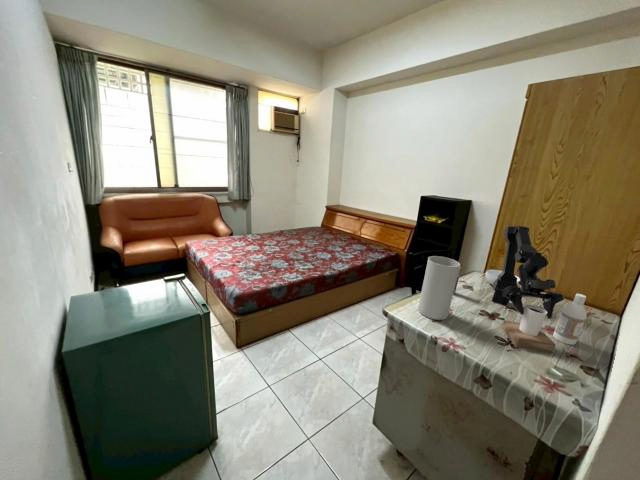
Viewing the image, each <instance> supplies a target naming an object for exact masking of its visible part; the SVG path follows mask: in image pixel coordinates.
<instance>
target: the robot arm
mask: <svg viewBox="0 0 640 480" xmlns="http://www.w3.org/2000/svg"><path fill="white" fill-rule="evenodd" d="M529 232H530V227H527V226H522V225H515V226H513V225H508V226H507V227H505V228H504V232H503V234H504V240H505V242H506V248H505V249H506V250H505V257H504V261H503V267H502V271H503V272H502V273H501V274H500V275H499V276H498V278H497V279H496V280H495V282H494V283H493V285H492V289H493V291H494V292H493V296H492V299H491V302H493V303H496V304H499V305H503V306H508V304H510V302H511V303H512V304H513V306H514V307H515V309H517V310H518V312H519V314H520V315H522V316H523V314H524V304H523V301H522V298H523V297H529V298H536V299H541V300H542V301H543V302H542V305H543V309H545V310H546V311H547V314H546V317H547V319H548V320H550V319H552V318H553V313H554V310H555V306H556V304H558V303H560V302H562V301H564V300H565V297H564V294H562V293H560V292H557V291H551V289H556V286H557V285H556V282H555V280H554V279H545V280H542V279H541V278H538V274H539V273H540V272H541V271H542V270H543V269H545V268H546V267H547V266H548V264H549V261H548V259H547V258H546V257H545V256H543V255H542V253H541V252H538V250H537V248H535V247H533V246H532V241H531V236H530V233H529ZM516 263H519V264H520V265H519V266H518V267H517V270H516V272H518V276H517V277H519V278H520V281H519V282H518V283H519V285H520V286H519V285H518V286H517V277H515V269H516ZM546 290H548V291H549V292H546V293H544V292H545V291H546Z"/></svg>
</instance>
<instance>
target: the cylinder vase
mask: <svg viewBox="0 0 640 480" xmlns="http://www.w3.org/2000/svg"><path fill="white" fill-rule="evenodd" d="M460 267H461V263H460V262H459V261H457V260H455V259H453V258H449V257H445V256H438V255H432V256H428V257H427V264H426V268H425V272H424V273H425V274H424V277H423V278H424V279H423V283H422V287H421V293H420V297H419V303H418V308H417V309H418V311H419V312H420V313H421V314H422V315H423V316H425V317H426V318H428V319H432V320H435V321H436V320H437V321H443V320H446V319H448V316H449V313H450V309H451V305H452V301H453V296H454V295H453V293H454V288H455V284H456V280H457V276H458V272H459V268H460Z"/></svg>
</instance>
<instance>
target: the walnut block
mask: <svg viewBox="0 0 640 480" xmlns="http://www.w3.org/2000/svg"><path fill="white" fill-rule="evenodd" d="M520 323H521V322H518V321H517V322H516V321H509V320H503V323H502V326H501V330H502V331H503V332H504V333H505V335H506V336H507V338H508V339H509V340H510V341H511V342H512V344H513V345H514V346H515V348H520V349H525V350H530V351H536V352H542V353H549V354H553V353H554V349H555V346H556V343H555V342H554V341H553V340H552V339H551V338H550V337H549V336H548V335H546V333H545V332H544V331H542V330H541V329H540V330H539V333H538V335H537V336H531V335H528V334H525V333H523V332H522V331H521V330H520V329H519V327H520Z"/></svg>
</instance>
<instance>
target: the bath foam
mask: <svg viewBox="0 0 640 480" xmlns="http://www.w3.org/2000/svg"><path fill="white" fill-rule="evenodd" d="M586 300H587V296H586V295H584V294H581V293H576V294H575V296H574V298H573V301H572V302H569V303H568V304H566V305H565V306H564V307H563V308H562V310H561V313H560V315H559V317H558V320H557V323H556V326H555V329H554V331H553V334H552V335H553V337H554V338H555V339H556V340H557V341H558V342H561V343H563V344H567V345H569V346H570V345H571V346H572V345H573V346H574V345H576V343H577V341H578V339H579V336H580V335H581V332H582V330H583V327H584V325H585V322H586V320H587V311H586V309H585V306H584V304H585V302H586Z"/></svg>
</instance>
